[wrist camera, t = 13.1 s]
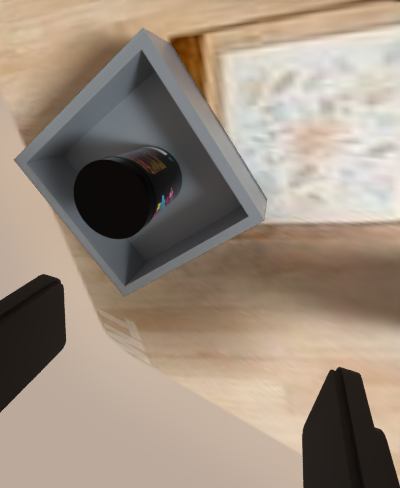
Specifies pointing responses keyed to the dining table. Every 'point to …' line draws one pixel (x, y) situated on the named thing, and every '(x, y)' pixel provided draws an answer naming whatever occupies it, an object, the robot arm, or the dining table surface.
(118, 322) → the dining table surface
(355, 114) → the dining table surface
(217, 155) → the tote
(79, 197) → the supplement container
